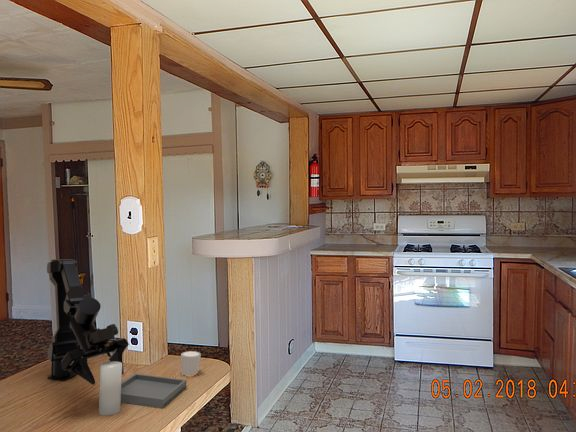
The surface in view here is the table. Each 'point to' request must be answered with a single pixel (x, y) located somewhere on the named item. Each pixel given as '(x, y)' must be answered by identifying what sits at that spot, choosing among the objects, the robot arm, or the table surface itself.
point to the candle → (110, 388)
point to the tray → (150, 390)
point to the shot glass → (190, 362)
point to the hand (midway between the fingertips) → (108, 378)
